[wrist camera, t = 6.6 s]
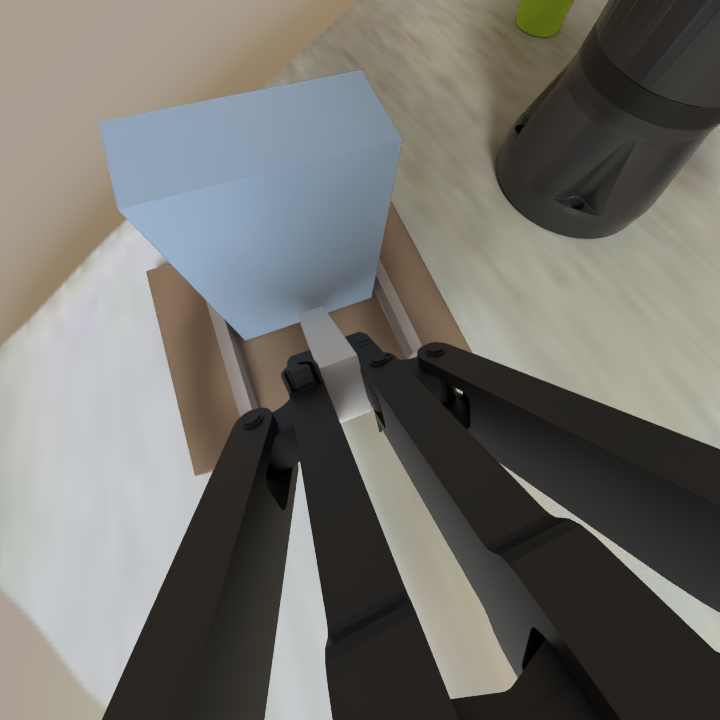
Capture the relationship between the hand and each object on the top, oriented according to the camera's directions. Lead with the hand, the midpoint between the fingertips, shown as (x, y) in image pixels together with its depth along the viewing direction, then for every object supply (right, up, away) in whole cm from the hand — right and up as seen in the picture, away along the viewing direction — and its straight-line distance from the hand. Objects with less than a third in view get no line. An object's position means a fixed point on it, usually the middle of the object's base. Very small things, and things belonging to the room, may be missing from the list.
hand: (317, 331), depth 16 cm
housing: (-2, +1, +7) cm, 7 cm away
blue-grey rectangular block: (-2, +3, +6) cm, 7 cm away
